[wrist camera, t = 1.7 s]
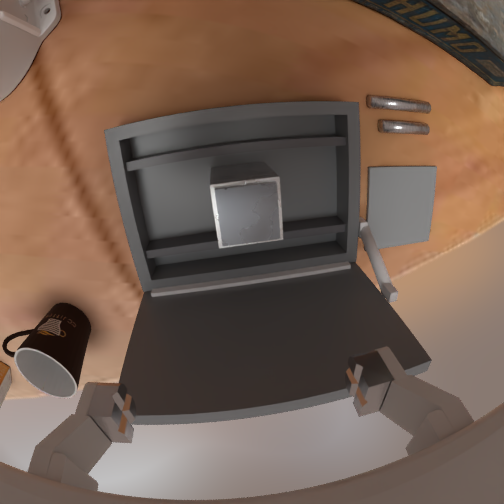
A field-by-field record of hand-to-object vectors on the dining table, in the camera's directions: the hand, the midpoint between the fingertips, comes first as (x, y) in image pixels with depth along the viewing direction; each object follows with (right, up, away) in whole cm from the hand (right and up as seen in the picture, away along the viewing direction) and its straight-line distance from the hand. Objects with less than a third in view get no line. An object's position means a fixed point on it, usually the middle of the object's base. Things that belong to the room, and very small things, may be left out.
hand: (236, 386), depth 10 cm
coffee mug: (-25, -4, +24) cm, 35 cm away
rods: (+16, +20, +17) cm, 31 cm away
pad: (+18, +10, +22) cm, 31 cm away
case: (-1, +11, +19) cm, 22 cm away
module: (-1, +11, +18) cm, 21 cm away
